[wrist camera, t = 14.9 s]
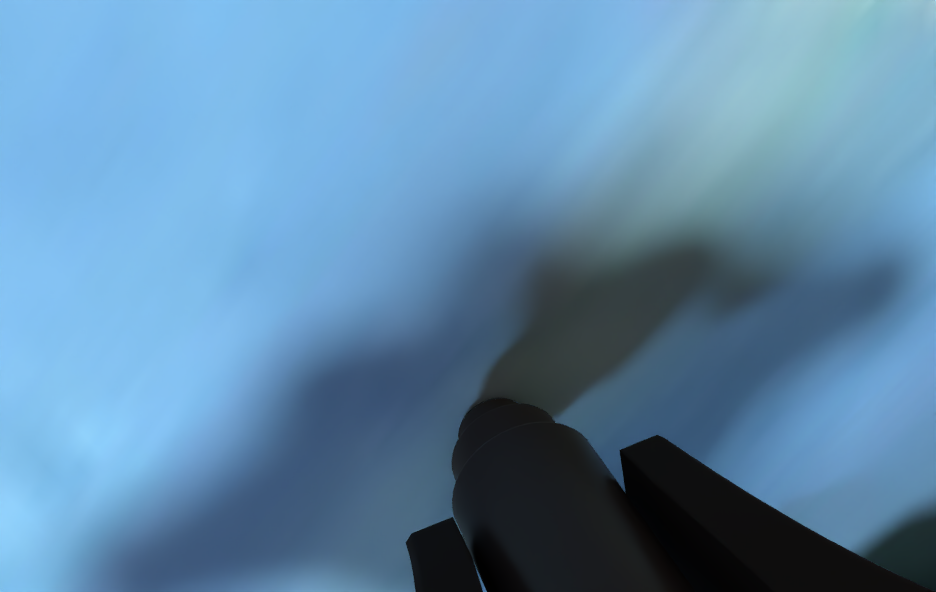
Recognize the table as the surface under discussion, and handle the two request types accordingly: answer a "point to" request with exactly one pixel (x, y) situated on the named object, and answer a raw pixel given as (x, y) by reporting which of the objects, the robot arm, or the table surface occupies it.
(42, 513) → the table surface
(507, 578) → the marker
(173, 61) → the table surface
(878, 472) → the table surface
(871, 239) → the table surface
